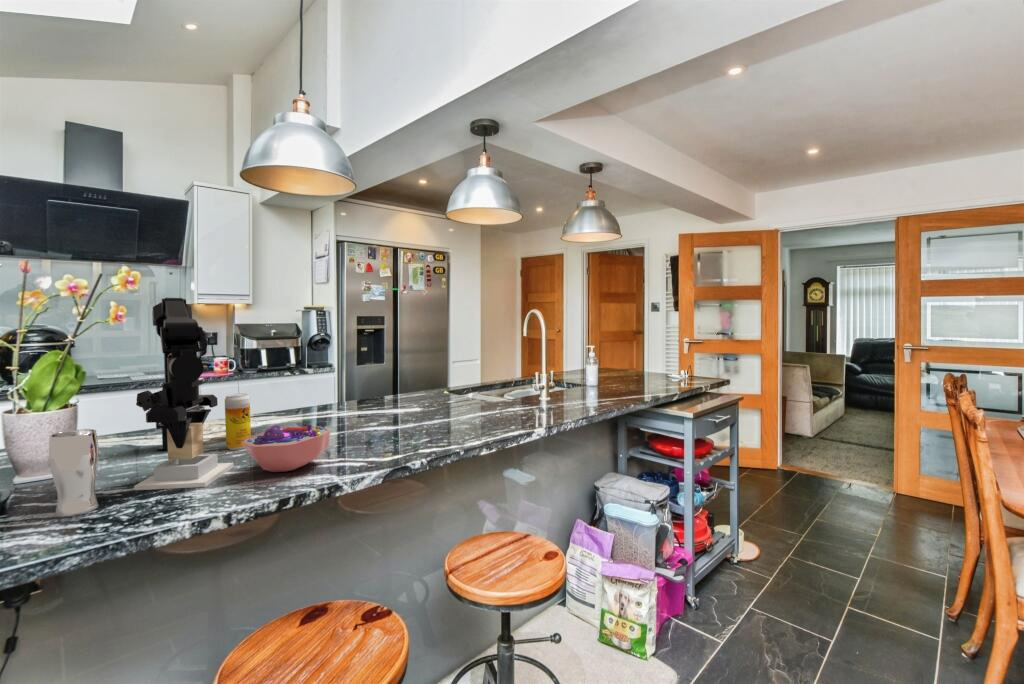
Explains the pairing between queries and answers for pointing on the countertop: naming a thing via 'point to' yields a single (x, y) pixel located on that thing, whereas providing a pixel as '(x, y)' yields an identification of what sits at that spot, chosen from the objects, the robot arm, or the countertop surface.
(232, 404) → the beer can
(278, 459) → the cell model
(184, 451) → the tan block
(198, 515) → the countertop surface
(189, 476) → the socket plate
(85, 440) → the beer glass
